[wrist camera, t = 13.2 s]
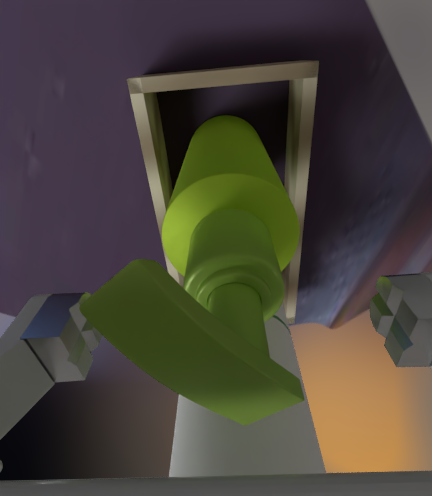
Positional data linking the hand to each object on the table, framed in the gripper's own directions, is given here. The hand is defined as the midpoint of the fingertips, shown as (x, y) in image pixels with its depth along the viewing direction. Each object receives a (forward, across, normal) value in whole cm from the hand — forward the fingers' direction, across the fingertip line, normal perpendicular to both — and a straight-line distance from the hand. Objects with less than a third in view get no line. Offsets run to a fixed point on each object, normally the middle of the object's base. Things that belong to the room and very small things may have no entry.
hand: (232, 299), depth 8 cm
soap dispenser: (+18, 0, +1) cm, 18 cm away
